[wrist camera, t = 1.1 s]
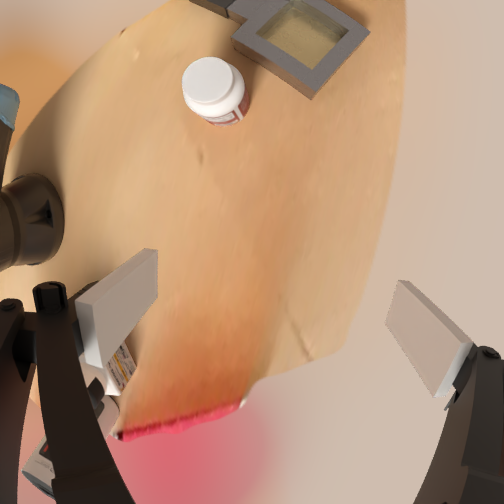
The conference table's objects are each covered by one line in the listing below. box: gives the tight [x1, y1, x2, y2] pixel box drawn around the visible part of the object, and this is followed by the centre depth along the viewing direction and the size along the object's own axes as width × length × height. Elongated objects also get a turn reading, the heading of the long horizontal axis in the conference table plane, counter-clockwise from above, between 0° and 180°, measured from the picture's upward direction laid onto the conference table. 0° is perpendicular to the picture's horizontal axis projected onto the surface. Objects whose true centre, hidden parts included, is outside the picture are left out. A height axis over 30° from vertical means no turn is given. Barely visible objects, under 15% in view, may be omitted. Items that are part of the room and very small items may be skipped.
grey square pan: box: [189, 0, 370, 100], centre depth 27 cm, size 23×12×4 cm, turn 52°
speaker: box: [21, 395, 119, 500], centre depth 36 cm, size 11×10×26 cm
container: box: [79, 341, 136, 410], centre depth 37 cm, size 8×8×13 cm
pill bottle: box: [182, 57, 250, 127], centre depth 27 cm, size 6×6×11 cm
